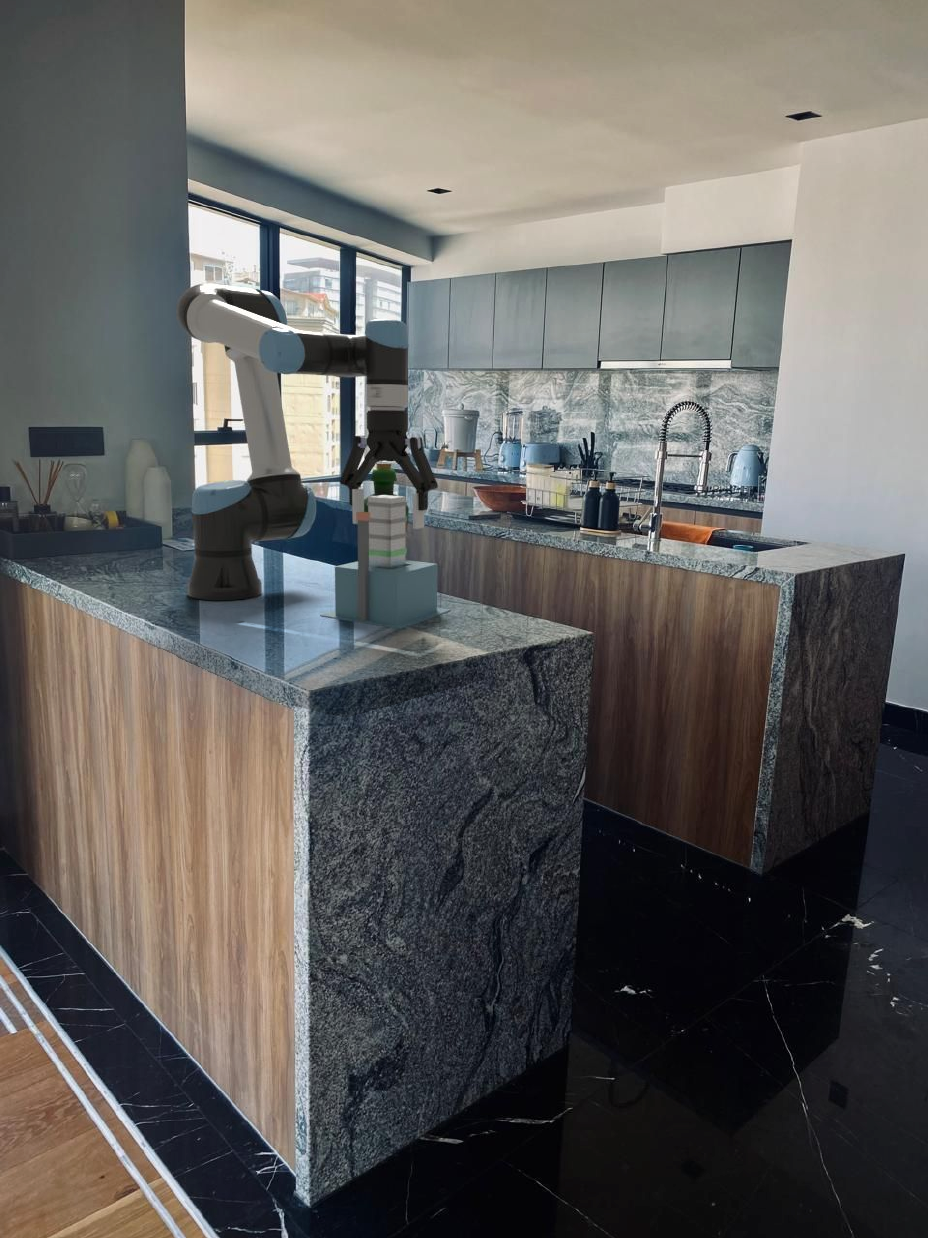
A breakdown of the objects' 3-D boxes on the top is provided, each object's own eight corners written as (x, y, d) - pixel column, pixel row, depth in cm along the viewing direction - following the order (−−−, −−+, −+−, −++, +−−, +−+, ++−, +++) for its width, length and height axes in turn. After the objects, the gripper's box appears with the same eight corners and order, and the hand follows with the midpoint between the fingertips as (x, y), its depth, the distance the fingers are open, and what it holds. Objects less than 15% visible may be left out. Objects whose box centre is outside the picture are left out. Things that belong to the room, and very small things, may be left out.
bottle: (401, 603, 181) (401, 465, 174) (351, 599, 183) (350, 463, 176) (414, 593, 191) (415, 462, 184) (367, 590, 193) (367, 461, 186)
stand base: (320, 619, 165) (318, 509, 161) (375, 602, 181) (375, 501, 176) (400, 632, 157) (400, 516, 152) (450, 613, 172) (452, 508, 167)
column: (367, 612, 168) (366, 496, 162) (383, 607, 172) (383, 494, 167) (390, 616, 165) (391, 498, 160) (406, 610, 170) (407, 496, 164)
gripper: (320, 408, 163) (322, 522, 167) (435, 409, 151) (434, 532, 155) (344, 409, 169) (346, 519, 174) (456, 410, 157) (455, 528, 162)
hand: (387, 525), depth 165 cm, fingers open, 13 cm apart
